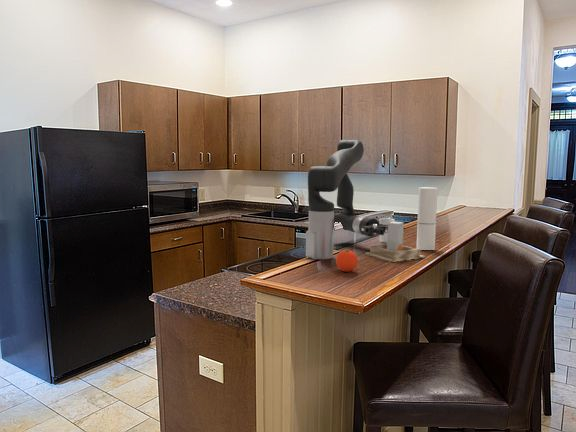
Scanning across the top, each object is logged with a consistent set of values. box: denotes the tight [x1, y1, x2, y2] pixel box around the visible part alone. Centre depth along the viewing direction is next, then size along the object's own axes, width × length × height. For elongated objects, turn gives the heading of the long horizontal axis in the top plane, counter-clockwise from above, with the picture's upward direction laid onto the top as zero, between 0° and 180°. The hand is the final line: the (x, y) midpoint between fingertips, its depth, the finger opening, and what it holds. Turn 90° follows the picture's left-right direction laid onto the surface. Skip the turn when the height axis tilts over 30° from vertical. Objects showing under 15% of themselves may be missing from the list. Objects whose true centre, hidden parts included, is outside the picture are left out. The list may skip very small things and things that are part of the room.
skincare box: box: [386, 220, 405, 251], centre depth 168 cm, size 6×4×12 cm
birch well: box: [364, 243, 426, 263], centre depth 169 cm, size 16×15×3 cm
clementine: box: [335, 249, 359, 273], centre depth 144 cm, size 8×7×7 cm
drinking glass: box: [378, 217, 395, 244], centre depth 201 cm, size 7×7×10 cm
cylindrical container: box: [415, 186, 439, 251], centre depth 182 cm, size 7×7×25 cm
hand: (392, 231), depth 169 cm, fingers open, 8 cm apart
